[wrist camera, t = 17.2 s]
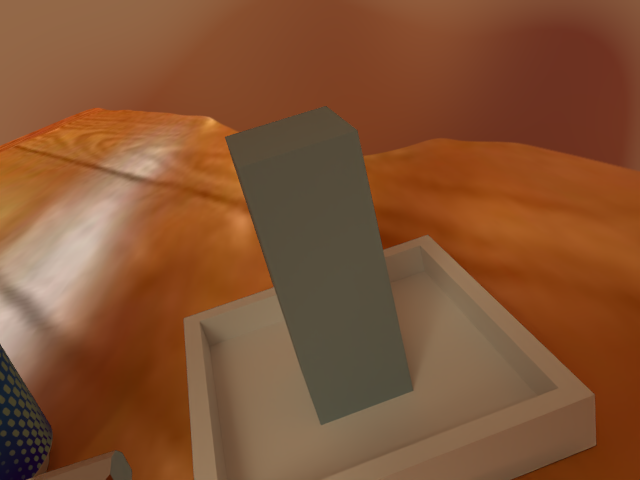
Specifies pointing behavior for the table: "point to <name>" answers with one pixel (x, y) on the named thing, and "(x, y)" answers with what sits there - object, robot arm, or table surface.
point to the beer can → (21, 427)
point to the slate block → (324, 258)
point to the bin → (395, 414)
